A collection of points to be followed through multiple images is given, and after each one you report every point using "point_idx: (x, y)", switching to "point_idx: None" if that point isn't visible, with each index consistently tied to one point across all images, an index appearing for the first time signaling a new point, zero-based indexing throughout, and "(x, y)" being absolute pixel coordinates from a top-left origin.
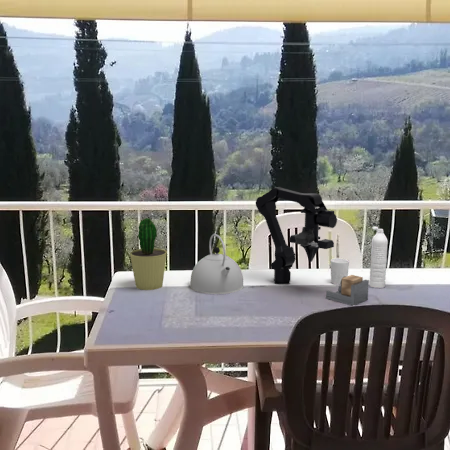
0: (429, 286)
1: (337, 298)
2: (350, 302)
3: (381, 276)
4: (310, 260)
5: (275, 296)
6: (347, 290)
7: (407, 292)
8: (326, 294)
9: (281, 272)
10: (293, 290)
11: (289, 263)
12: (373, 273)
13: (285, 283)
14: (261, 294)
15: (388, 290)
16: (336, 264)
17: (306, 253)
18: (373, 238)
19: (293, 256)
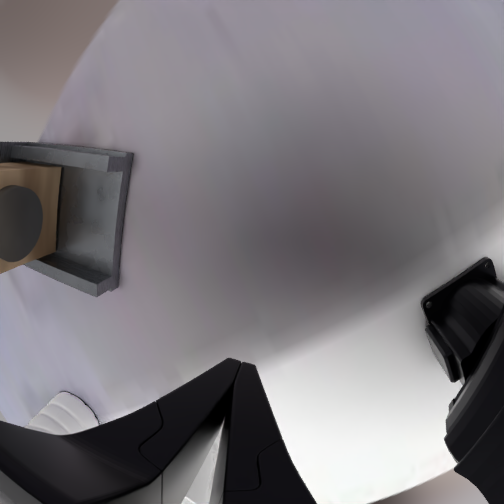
0: (21, 425)
1: (71, 150)
2: (27, 142)
3: (34, 416)
4: (224, 364)
5: (391, 35)
6: (9, 166)
7: (10, 372)
8: (118, 156)
9: (495, 305)
10: (357, 190)
11: (481, 364)
12: (45, 426)
13: (441, 287)
14: (463, 43)
15: (38, 378)
16: None
17: (283, 443)
18: None
19: (471, 446)
